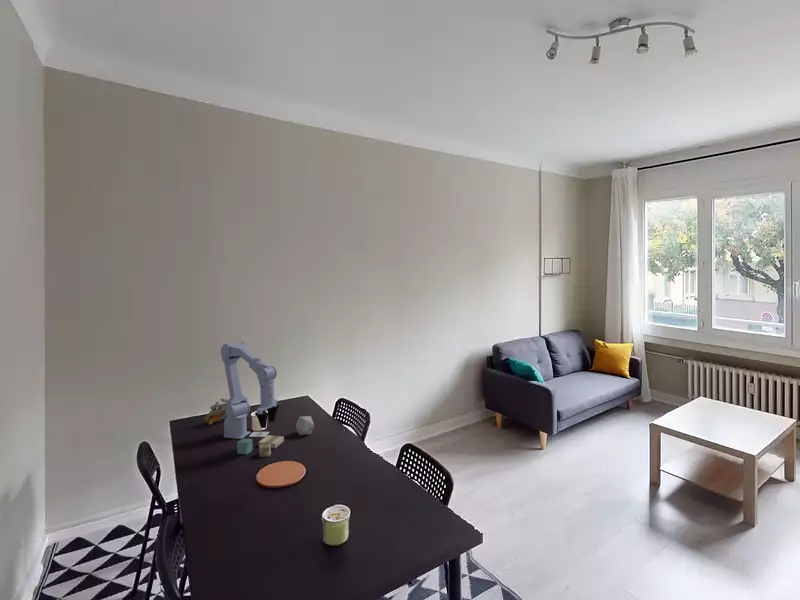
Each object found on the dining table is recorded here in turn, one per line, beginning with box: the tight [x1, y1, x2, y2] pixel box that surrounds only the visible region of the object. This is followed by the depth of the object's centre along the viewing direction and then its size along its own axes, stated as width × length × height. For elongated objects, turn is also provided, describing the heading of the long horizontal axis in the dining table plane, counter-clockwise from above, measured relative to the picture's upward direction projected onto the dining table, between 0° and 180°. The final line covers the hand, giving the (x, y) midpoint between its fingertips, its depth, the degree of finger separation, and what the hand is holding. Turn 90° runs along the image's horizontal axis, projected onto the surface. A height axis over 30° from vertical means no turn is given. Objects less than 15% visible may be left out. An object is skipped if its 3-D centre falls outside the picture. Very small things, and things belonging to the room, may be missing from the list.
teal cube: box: [236, 437, 254, 455], centre depth 181 cm, size 4×4×5 cm
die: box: [295, 415, 315, 436], centre depth 201 cm, size 8×9×10 cm
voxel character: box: [203, 398, 229, 426], centre depth 215 cm, size 11×10×15 cm
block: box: [258, 443, 272, 458], centre depth 178 cm, size 4×4×4 cm
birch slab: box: [258, 434, 285, 449], centre depth 189 cm, size 8×8×2 cm
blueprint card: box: [248, 431, 270, 438], centre depth 200 cm, size 8×6×1 cm
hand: (267, 424), depth 186 cm, fingers open, 7 cm apart
